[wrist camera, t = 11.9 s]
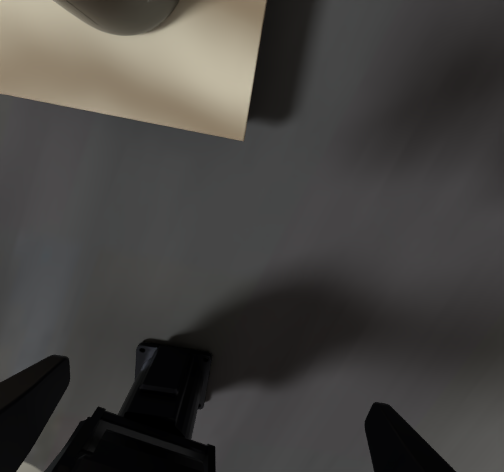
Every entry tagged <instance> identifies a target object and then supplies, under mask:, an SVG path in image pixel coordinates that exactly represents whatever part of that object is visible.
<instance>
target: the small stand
mask: <svg viewBox="0 0 504 472" xmlns="http://www.w3.org/2000/svg"><path fill="white" fill-rule="evenodd" d="M266 4H267V0H180V1H179V3H178V5H177V6H176V8H175V9H174V11H173V12H172V13H171V14H170V16H169V17H168V18H167V19H166V20H165V21H164V22H162V23H161V24H160V25H159V26H157V27H155V28H154V29H152V30H150V31H148V32H145V33H142V34H138V35H133V36H119V35H112V34H108V33H105V32H102V31H100V30H97V29H95V28H93V27H91V26H90V25H88V24H86V23H85V22H83V21H81V20H80V19H78V18H77V17H76V16H74V15H73V14H71V13H70V12H68V11H67V10H65V9H64V8H63V7H61V6H60V5H58V4H57V3H56V2H54V1H53V0H0V94H5V95H10V96H15V97H21V98H26V99H31V100H36V101H41V102H46V103H51V104H56V105H61V106H66V107H72V108H77V109H82V110H87V111H92V112H97V113H102V114H107V115H112V116H118V117H123V118H128V119H133V120H138V121H143V122H148V123H153V124H158V125H163V126H169V127H174V128H179V129H184V130H189V131H194V132H199V133H204V134H209V135H214V136H220V137H225V138H230V139H235V140H240V141H244V138H245V132H246V126H247V120H248V113H249V107H250V101H251V95H252V89H253V83H254V77H255V71H256V65H257V59H258V53H259V47H260V41H261V35H262V28H263V22H264V16H265V10H266Z"/></svg>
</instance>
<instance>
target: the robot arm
mask: <svg viewBox="0 0 504 472" xmlns="http://www.w3.org/2000/svg"><path fill="white" fill-rule="evenodd" d="M142 348H144V349H142ZM205 357H206V358H208V359H206V358H205ZM211 361H212V355H211V353H209V352H205V351H198V350H192V349H185V348H179V347H172V346H165V345H159V344H152V343H146V342H142V343H140V344H139V345H138V347H137V349H136V368H135V381H134V383H133V385H132V387H131V389H130V391H129V393H128V395H127V397H126V399H125V401H124V403H123V405H122V407H121V409H120V411H119V413H118V415H117V414H114V413H111V412H108V411H105V410H106V409H104V408H101V407H97V409H96V411H95V412H94V414H93V415H92V417H88V418H87V419H86V420H84V421H80V423H79V425H78V426H77V428H76V429H75V431H74V433H73V434H72V436H71V437H70V439H69V440H68V442H67V443H66V445H65V446H64V448H63V449H62V450H61V452H60V453H59V454H58V455H57V457H56V458H55V459H54V460H53V462H52V463H51V464H50V465H49V467H48V468H47V469H46V470H45V471H44V472H215V446H213V445H210V444H207V445H205V444H202V443H199V442H196V441H193V440H191V438H192V433H193V428H194V424H195V419H196V414H197V410H198V409H202V408H203V407H204V402H205V396H206V390H207V384H208V378H209V373H210V367H211ZM69 382H70V365H69V358H68V357H66V356H60V355H51V356H49V357H47V358H45V359H43V360H41V361H39V362H38V363H36V364H34V365H32V366H30V367H28V368H26V369H25V370H23V371H21V372H19V373H17V374H15V375H13V376H12V377H10V378H8V379H6V380H4V381H2V382H0V472H16V471H17V470H18V468H19V467H20V465H21V464H22V462H23V461H24V459H25V458H26V456H27V455H28V453H29V452H30V450H31V449H32V447H33V446H34V444H35V442H36V441H37V439H38V437H39V436H40V434H41V432H42V430H43V429H44V427H45V425H46V423H47V422H48V420H49V418H50V417H51V415H52V413H53V411H54V410H55V408H56V406H57V404H58V403H59V401H60V399H61V397H62V396H63V394H64V392H65V390H66V389H67V387H68V385H69ZM365 432H366V437H367V441H368V446H369V450H370V455H371V459H372V464H373V468H374V472H456V471H455V470H454V469H453V468H452V467H451V466H450V465H449V464H448V463H447V462H446V461H445V460H444V459H443V458H442V457H441V456H440V455H439V454H438V453H437V452H436V451H435V450H434V449H433V448H432V447H431V446H430V445H429V444H428V443H427V442H426V441H425V440H424V439H423V438H422V437H421V436H420V435H419V434H418V433H417V432H416V431H415V430H414V429H413V428H412V427H411V426H410V425H409V424H408V423H407V422H406V421H405V420H404V419H403V418H402V417H401V416H400V415H399V414H398V413H397V412H396V411H395V410H394V409H393V408H392V407H391V406H390V405H388V404H385V403H379V402H375V403H373V405H372V407H371V409H370V411H369V413H368V415H367V418H366V420H365Z"/></svg>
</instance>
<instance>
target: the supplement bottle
mask: <svg viewBox="0 0 504 472" xmlns="http://www.w3.org/2000/svg"><path fill="white" fill-rule="evenodd" d="M53 1H54V2H56V3H57V4H58V5H60V6H61V7H63V8H64V9H65V10H67V11H68V12H70V13H71V14H73V15H74V16H76V17H77V18H78V19H80V20H81V21H83V22H85V23H86V24H88V25H90V26H91V27H93V28H95V29H97V30H100V31H102V32H105V33H108V34H112V35H119V36H133V35H138V34H142V33H145V32H148V31H150V30H152V29H154V28H155V27H157V26H159V25H160V24H161V23H162V22H164V21H165V20H166V19H167V18H168V17H169V16H170V14H171V13H172V12H173V11H174V9H175V8H176V6H177V5H178V3H179V1H180V0H53Z"/></svg>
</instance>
